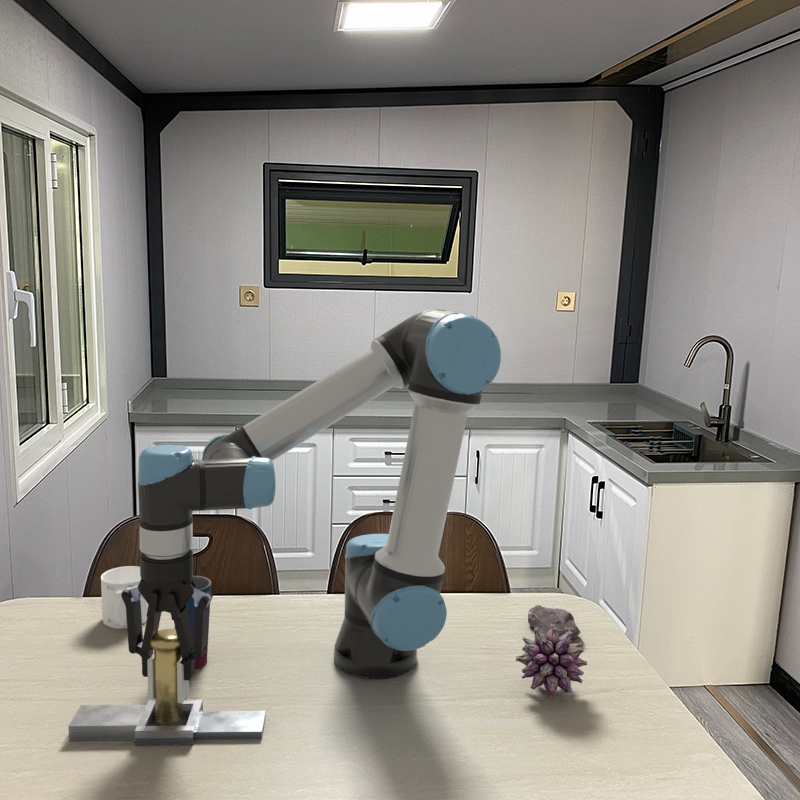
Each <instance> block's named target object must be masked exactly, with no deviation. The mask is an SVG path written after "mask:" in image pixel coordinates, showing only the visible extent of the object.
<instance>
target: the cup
mask: <svg viewBox="0 0 800 800" xmlns="http://www.w3.org/2000/svg"><path fill="white" fill-rule="evenodd" d="M193 581H194V583H195V585H196V589H198V590H200V591H202V592H204V593H206V592H208V591H210V592H212V581H211V579H209V578H208V577H206V576H200V575H193ZM187 606H188V618H189V622H190V627H191V632H192V637H193V641H194V630H195V611H196V608H197V607H195V606H194V598H193V597H191V598H190V599H189V601H188V602H187ZM210 611H211V603H210V604H209V610H208V636H207V650H206V651H205V653H204V654H203V656H202V657H201V658H200V659H194V663H195V669H194V670H197V669H198V670H199V669H200V668H202V667H204V666H206V665H207V663H208V648H209V633H210V631H209V630H210V614H211V613H210Z"/></svg>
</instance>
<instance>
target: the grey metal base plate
mask: <svg viewBox="0 0 800 800" xmlns="http://www.w3.org/2000/svg"><path fill="white" fill-rule="evenodd" d="M147 700H148V699H147ZM266 717H267V716H266V710H210V711H209V710H207V711H206V710H204V700H203V698H201V699H200V698H199V699H198V698H197V699H185V700H184V702H183V715H182V717H181V718H180V719H183V718H186V719H188V720H187V722H186V725H153V724H154V721H155V720H156V718H155V699H154V700H148V701H147V703H146V704H80V706H79V708H78V709H77V711H76V713H75V714H74V716H73V718H72V720H71V721H70V723H69V725H68V726H67V727H68V741H69V742H76V741H80V742H81V741H83V742H85V741H87V742H90V741H92V742H93V741H94V742H95V741H134V742H135V744H134V746H136V747H139V746H141V747H142V746H144V747H145V746H193V745H194V742H195V740H256V739H257V740H262V739H263V734H264V730H265V729H264V728H265V723H266Z"/></svg>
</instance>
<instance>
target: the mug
mask: <svg viewBox="0 0 800 800" xmlns="http://www.w3.org/2000/svg"><path fill="white" fill-rule="evenodd" d="M140 581H141V576H140V566H137V565H134V566H133V565H126V566H119V567H113V568H111V569H108V570H106V571H104V572H103V573H102V574H101V576H100V586H101V587H100V588H101V589H100V590H101V611H102V612H101V614H102V617H101V618H102V622H103V624H104V626H106V627H108V628H110V629H116V630H117V629H118V630H124V629H126V630H127V617H126V606H125V604H124V601H123V599H122V597H121V593H122V592H123V591H124V590H125V589H127V588H128V587H129V586H130V585H133V586H137V585H138V584H139V583H140ZM140 602H141V616H142V625H144V624H146V621H147V610H148V603H147V602H146V600H145V599H144V598H143V596H142V595H141V598H140Z"/></svg>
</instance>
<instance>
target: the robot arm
mask: <svg viewBox="0 0 800 800" xmlns="http://www.w3.org/2000/svg"><path fill="white" fill-rule="evenodd" d="M370 344H371V345H370V348H369V349H368V350H366V351H364V352H363V353H361V354H359V355H358V356H356V357H354V358H353V359H351V360H350V361H348V362H346V363H345V364H343V365H341V366H340V367H338V368H336V369H335V370H333V371H332V372H330V373H328V374H327V375H325V376H323V377H322V378H320V379H318V380H316V381H315V382H314V383H312V384H310V385H308V386H307V387H305V388H304V389H302V390H300V391H299V392H297V393H295V394H294V395H292V396H290V397H289V398H287V399H286V400H284V401H283V402H280V403H279V404H277V405H276V406H274V407H272V408H271V409H269V410H267V411H265V412H264V413H262V414H261V415H259V416H257V417H256V418H254V419H252V420H251V421H250V422H248V423H246V424H244V425H242V426H241V427H239V428H238V429H235V430H233V431H232V432H231V433H229V434H224V433H222V434H217V435H216V436H214V437H212V438H211V439H209V440H208V442H207V443H206V444H205V446H204V448H203V451H202V457H201V458H202V459H194V456H193V454H192V452H193V451H192V450H191V448H189V447H188V446H184V445H182V444H181V445H180V444H178V445H177V444H175V445H174V444H160V445H153V446H150V447H149V446H148V447H147V448H145V449H143V450H142V452H141V453H140V454H139V456H138V471H137V472H138V473H137V474H138V475H137V485H138V486H137V488H138V491H137V492H138V515H139V517H138V519H139V551H140V554H139V567H140V576H141V581H140V583H139V584H138V585H137V586H133V585H130V586H129V587H128V588H127V589H125V590H124V591H123V592H122V593H121V597H122V599H123V601H124V604H125V606H126V617H127V629H126V630H127V643H128V644H127V645H128V652H129V653H130V654H133V655H135V654H137V655H139V656H140V657H141V674H142V676H143V677H144V678H147V700H155V667H154V649H152V648H151V647H150V639H152V638H153V637H154V635H155V634H156V633H157V632H158V631H159V627H160V622H161V616H162V612H166V613H169V614H170V618H171V621H173V623H174V624H173V625H174V629H176V633H177V638H178V641H179V642H180V652H181V657H182V658H181V659H180V660H179V661H178V662H177V698H178V703H183V702H184V700H187V699H186V698H187V697H188V696H189V695H190V681H191V680H192V679H193V677H194V675H195V673H196V672H195V671H196V669H195V663H194V659H200V658H201V657H202V656H203V654H204V653H205V651H206V650H207V636H208V637H209V634H208V610H209V604H210V605H211V602H212V600H213V598H214V597H213V596H214V594H213V592H212V591H211V592H210V591H208V592H206V593H204V592H202V591H200V590H198V589H196V585H195V583H194V581H193V576H194V552H193V550H192V548H193V542H194V540H193V539H194V538H193V537H194V535H193V532H194V531H193V525H194V523H193V520H194V519H193V513H194V512H196V511H197V512H199V511H200V512H201V511H202V512H204V511H221V510H224V511H225V510H242V509H247V510H252V509H255V508H256V509H257V508H265V507H269V506H271V505H272V504H273V503H274V500H275V499H276V498H275V496H276V484H277V483H276V472H275V466H274V462H273V461H275V460H276V459H278V458H279V457H281V456H283V455H285V454H286V453H288V452H289V451H291V450H293V449H294V448H295V447H299V445H301V444H303V443H304V442H306V441H307V440H309V439H310V438H313V437H314V436H316V435H317V434H319V433H320V432H322V431H323V430H325V429H327V428H329V427H331V426H332V425H333V424H335V423H336V422H337V423H338V421H340V420H342V419H344V418H345V417H346V416H348V415H350V414H351V413H353V412H355V411H357V409H360V408H361V407H363V406H364V405H366V404H368V403H369V402H371V401H373V400H374V399H376V398H377V397H379V396H381V395H382V394H384V393H386V392H387V391H389V390H390V389H392V388H397V389H403V388H405V387H408V389H407V392H408V393H409V394H410V397H411V398H412V400H413V402H414V406H413V411H412V417H411V421H410V427H409V431H408V437H407V442H406V447H405V452H404V456H403V462H402V466H401V472H400V476H399V482H398V486H397V489H396V490H397V491H396V497H395V501H394V506H393V507H394V508H393V512H392V515H391V521H390V527H389V530H388V533H371V534H370V533H369V534H363V535H362V534H361V535H358V536H355V537H353V538H350V540H348V542H347V543H346V546H345V547H346V548H345V555H344V559H345V561H344V562H345V565H344V567H345V568H344V570H345V571H344V572H345V573H344V574H345V575H344V577H345V578H344V618H343V622H342V624H341V627H340V629H339V631H338V634H337V638H336V640H335V643H334V647H333V660H334V663H335V664H336V666H337V667H338V668H339V669H340V670H342V671H343V672H345V673H347V674H349V675H351V676H355V677H359V678H363V679H373V680H375V679H377V680H378V679H390V678H394V677H397V676H400V675H403V674H405V673H407V672H409V671H410V670H411V669H413V667H414V666H415V665H416V664H417V660H418V659H417V656H418V650H419V649H422V648H424V647H425V646H427V644H429V643H430V642H433V641H434V640H435V639H436V638H437V637H438V636H439V635H440V633H441V632H442V630H443V628H444V626H445V624H446V620H447V613H448V612H447V605H446V602H445V599H444V597H443V596H442V595H441V589H442V586H443V580H444V576H445V571H446V566H445V565H444V563H443V562H442V560H441V558H440V556H439V553H440V548H441V543H442V539H443V534H444V529H445V525H446V520H447V514H448V510H449V506H450V500H451V496H452V491H453V487H454V483H455V477H456V474H457V473H456V471H457V467H458V463H459V457H460V453H461V448H462V443H463V439H464V434H465V429H466V424H467V419H468V416H469V414H470V412H472V411H473V410H476V408H478V407H479V406H480V404H481V401H482V400H481V399H482V396H483V390H485V388H486V387H488V385H490V384H491V383H492V382H493V381H494V380H495V378H496V376H497V375H498V372H499V370H500V366H501V361H502V350H501V345H500V341H499V339H498V337H497V336H496V334H495V332H494V331H493V329H492V328H491V327H490V326H489V325H488V324H487V323H486V322H484V321H482V320H481V319H480V318H476V317H474V316H473V315H470V314H467V313H465V312H455V311H448V310H445V309H439V308H431V309H426V310H422V311H420V312H417V313H416V314H413V315H411V316H410V317H408V318H407V319H405V320H403V321H402V322H401V321H400V323H397V325H395V326H394V327H392V328H390V329H389V330H387V331H386V332H384V333H382V334H381V335H379V336H378V337H375V338H374V339H373V340H372V341H371V343H370ZM141 595H142V596H143V598H144V599H145V600H146V602H147V603H148V610H147V621H146V622H145V627H144V633H143V624H142V616H141V602H140V598H141ZM191 597H193V598H194V606H195V607H197V608H196V611H195V630H194V641H193V637H192V632H191V627H190V622H189V618H188V606H187V602H188V601H189V599H190V598H191Z"/></svg>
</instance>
